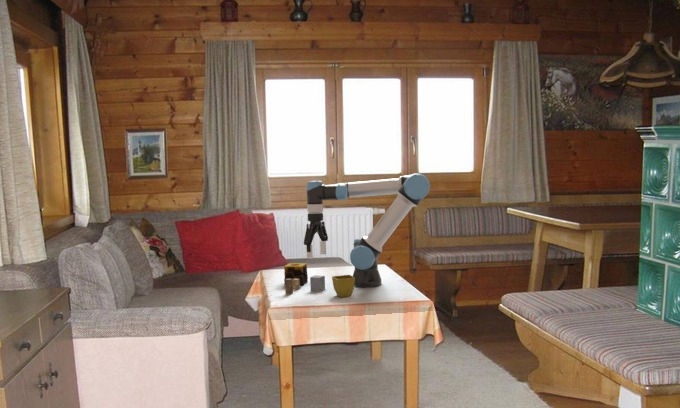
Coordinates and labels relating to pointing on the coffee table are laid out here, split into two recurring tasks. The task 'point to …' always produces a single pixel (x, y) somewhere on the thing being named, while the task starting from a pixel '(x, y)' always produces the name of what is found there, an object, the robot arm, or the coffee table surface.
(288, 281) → the walnut post
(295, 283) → the oak post
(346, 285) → the flower pot
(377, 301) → the coffee table surface
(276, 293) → the coffee table surface
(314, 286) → the grey matte cube
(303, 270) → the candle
